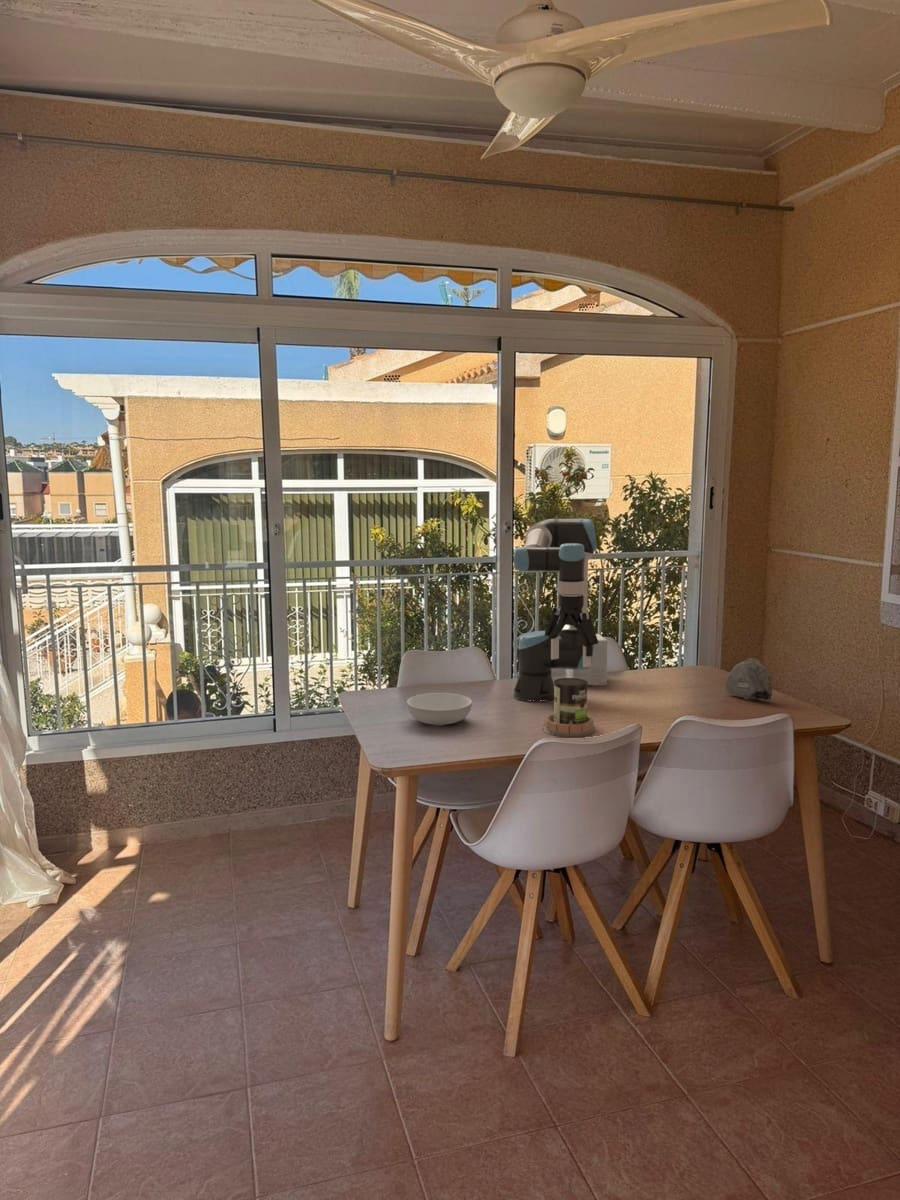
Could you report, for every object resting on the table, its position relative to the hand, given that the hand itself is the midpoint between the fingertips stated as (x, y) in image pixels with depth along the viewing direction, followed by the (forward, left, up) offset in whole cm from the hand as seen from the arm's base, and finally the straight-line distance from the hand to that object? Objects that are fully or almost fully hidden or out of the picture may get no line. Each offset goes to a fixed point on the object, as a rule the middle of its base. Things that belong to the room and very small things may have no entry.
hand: (570, 662), depth 251 cm
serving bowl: (-41, -8, -21) cm, 47 cm away
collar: (0, -2, -21) cm, 21 cm away
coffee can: (0, -1, -20) cm, 20 cm away
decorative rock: (+50, +55, -21) cm, 77 cm away
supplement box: (-9, +60, -21) cm, 65 cm away
